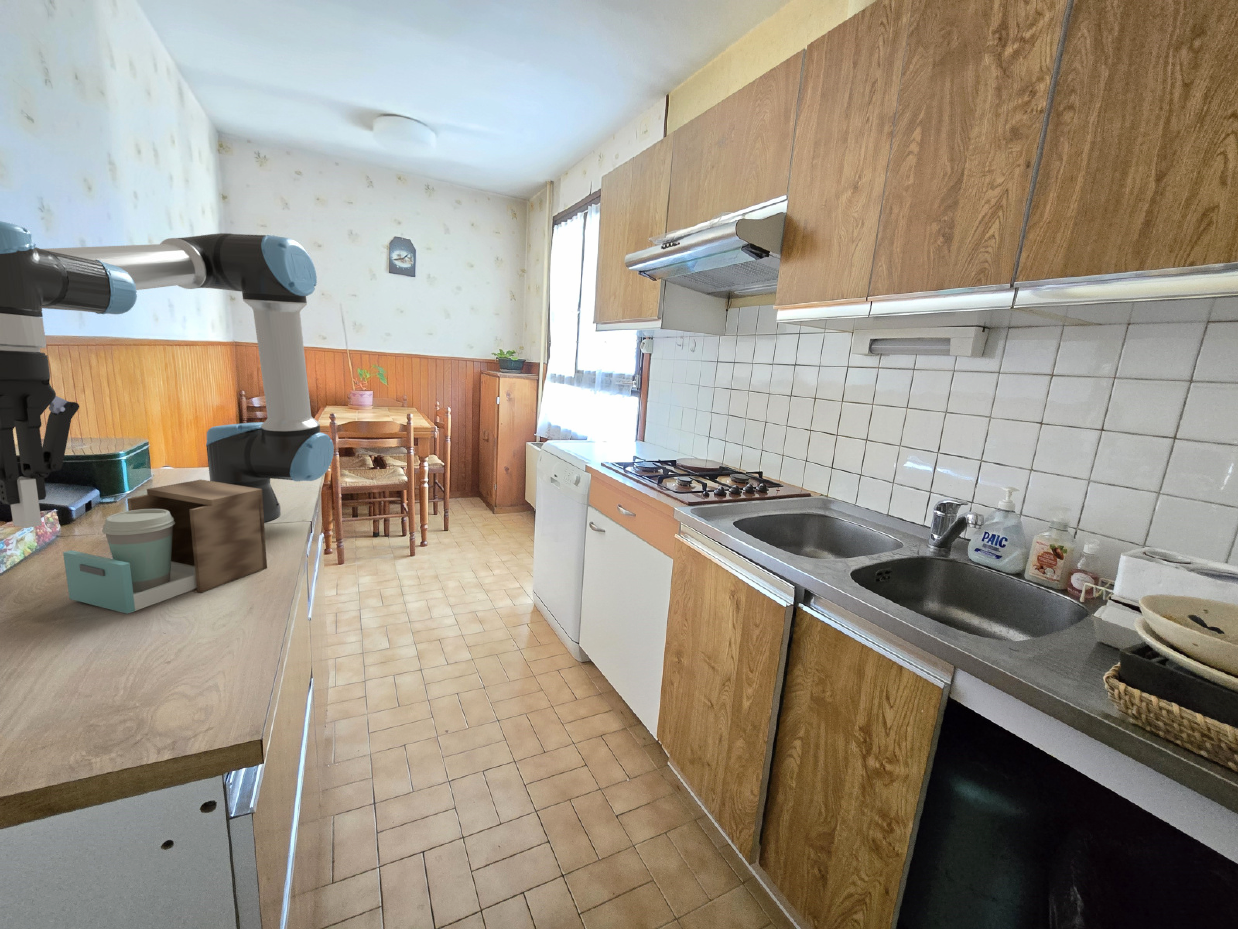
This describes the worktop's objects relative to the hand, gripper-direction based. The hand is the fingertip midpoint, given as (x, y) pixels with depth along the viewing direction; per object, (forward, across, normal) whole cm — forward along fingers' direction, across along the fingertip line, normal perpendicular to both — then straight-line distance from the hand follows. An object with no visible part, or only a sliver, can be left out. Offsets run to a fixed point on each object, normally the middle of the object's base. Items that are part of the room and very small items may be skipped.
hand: (27, 525), depth 69 cm
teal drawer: (+15, -12, 0) cm, 19 cm away
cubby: (+15, -22, 0) cm, 27 cm away
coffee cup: (+14, -13, 0) cm, 19 cm away
